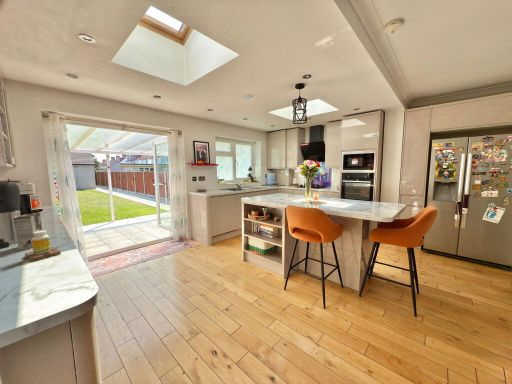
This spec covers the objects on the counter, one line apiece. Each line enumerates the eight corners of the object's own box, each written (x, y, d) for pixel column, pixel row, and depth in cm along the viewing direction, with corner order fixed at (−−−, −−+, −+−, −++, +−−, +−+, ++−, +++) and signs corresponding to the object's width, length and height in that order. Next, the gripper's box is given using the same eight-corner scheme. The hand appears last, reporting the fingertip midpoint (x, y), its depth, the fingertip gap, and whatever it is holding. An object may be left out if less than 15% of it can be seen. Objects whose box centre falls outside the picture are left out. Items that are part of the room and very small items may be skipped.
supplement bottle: (35, 252, 93) (32, 231, 92) (51, 249, 96) (49, 229, 95) (32, 255, 89) (29, 234, 88) (49, 252, 92) (47, 231, 91)
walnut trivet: (25, 256, 92) (24, 253, 91) (52, 250, 99) (51, 247, 99) (33, 261, 86) (32, 258, 86) (60, 254, 94) (60, 250, 93)
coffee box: (28, 244, 109) (24, 214, 108) (44, 242, 112) (40, 213, 110) (17, 249, 101) (12, 217, 99) (35, 247, 104) (30, 216, 102)
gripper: (-69, 250, 65) (9, 235, 79) (-72, 243, 72) (0, 231, 86) (-65, 272, 66) (12, 254, 80) (-68, 264, 73) (3, 248, 87)
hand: (6, 242), depth 83 cm, fingers open, 8 cm apart
